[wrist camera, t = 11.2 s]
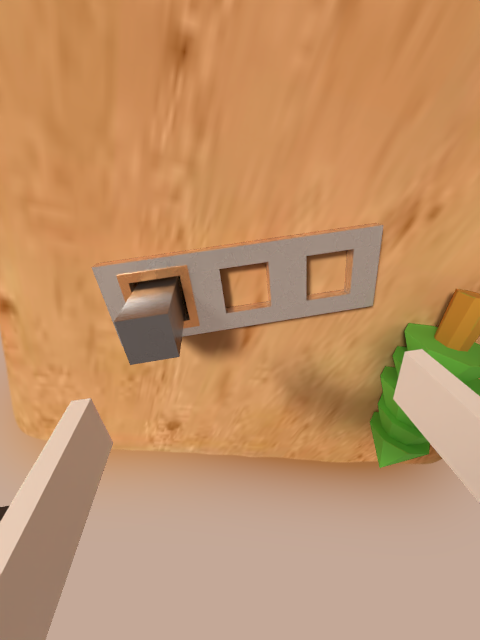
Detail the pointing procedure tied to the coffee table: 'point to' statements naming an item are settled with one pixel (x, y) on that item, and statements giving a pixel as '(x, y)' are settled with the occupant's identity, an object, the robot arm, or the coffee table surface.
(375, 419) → the decorative tree
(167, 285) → the rectangular block
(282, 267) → the grey board with holes
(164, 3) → the coffee table surface
